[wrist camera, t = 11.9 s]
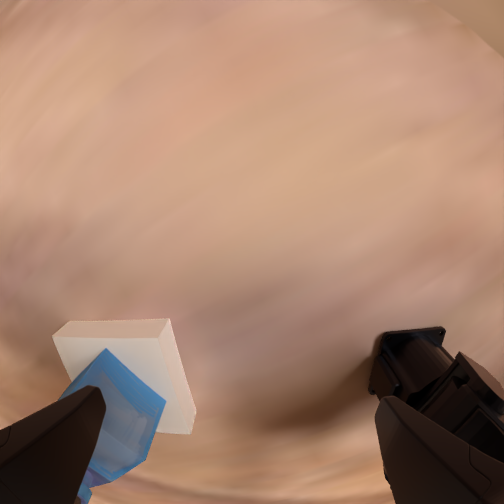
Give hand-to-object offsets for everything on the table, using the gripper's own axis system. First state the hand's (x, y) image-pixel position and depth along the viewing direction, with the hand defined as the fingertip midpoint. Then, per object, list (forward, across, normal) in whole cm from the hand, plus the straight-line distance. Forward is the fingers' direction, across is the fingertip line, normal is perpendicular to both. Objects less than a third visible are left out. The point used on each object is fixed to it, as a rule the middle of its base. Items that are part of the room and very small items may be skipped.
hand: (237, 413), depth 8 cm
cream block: (+14, +10, +9) cm, 20 cm away
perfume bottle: (+10, +10, +10) cm, 18 cm away
